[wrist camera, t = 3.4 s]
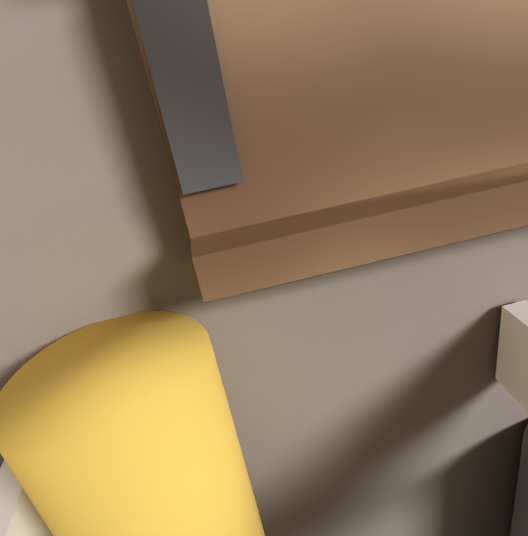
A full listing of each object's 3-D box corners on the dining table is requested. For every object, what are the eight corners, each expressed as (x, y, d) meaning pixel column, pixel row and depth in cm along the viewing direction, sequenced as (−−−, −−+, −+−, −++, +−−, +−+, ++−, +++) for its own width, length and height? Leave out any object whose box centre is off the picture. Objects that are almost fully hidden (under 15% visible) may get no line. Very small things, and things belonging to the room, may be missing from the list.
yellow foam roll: (273, 684, 10) (97, 689, 11) (275, 508, 14) (146, 517, 15) (189, 451, 7) (-68, 474, 7) (223, 300, 11) (54, 322, 11)
